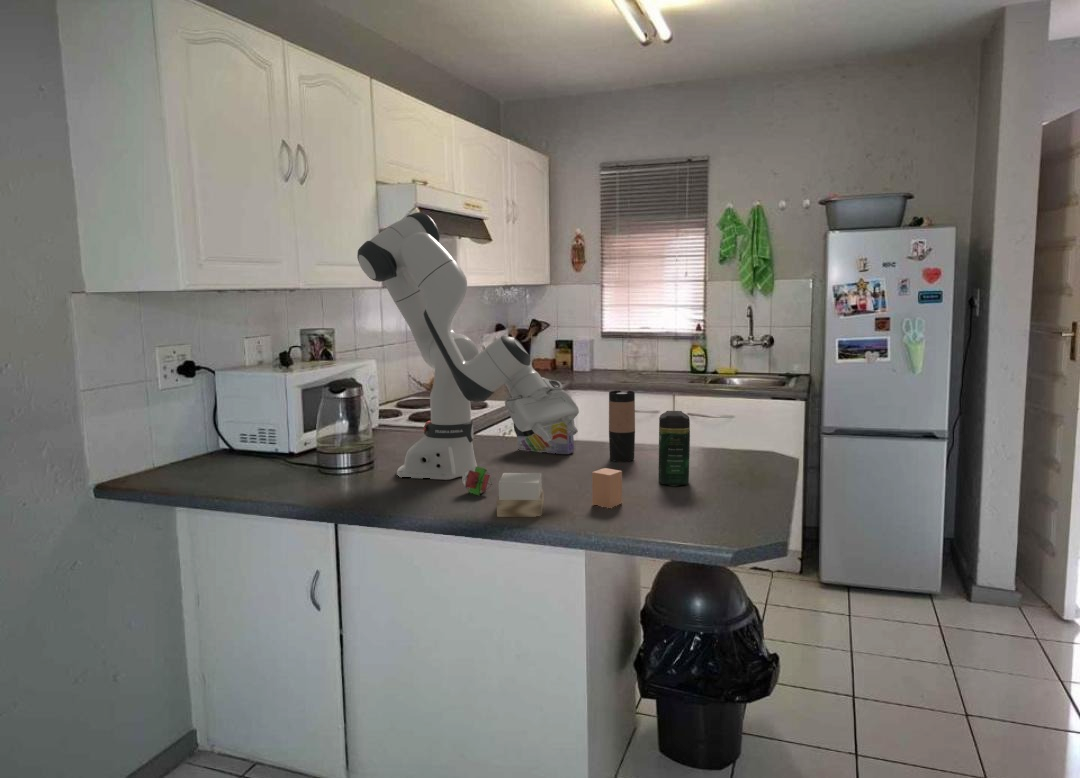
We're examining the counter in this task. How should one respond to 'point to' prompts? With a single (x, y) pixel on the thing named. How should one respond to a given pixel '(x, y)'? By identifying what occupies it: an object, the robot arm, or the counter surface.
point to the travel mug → (621, 425)
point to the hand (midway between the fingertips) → (562, 436)
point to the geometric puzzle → (476, 480)
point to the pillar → (607, 487)
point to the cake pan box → (557, 444)
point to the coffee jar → (674, 448)
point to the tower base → (520, 507)
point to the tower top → (520, 486)
